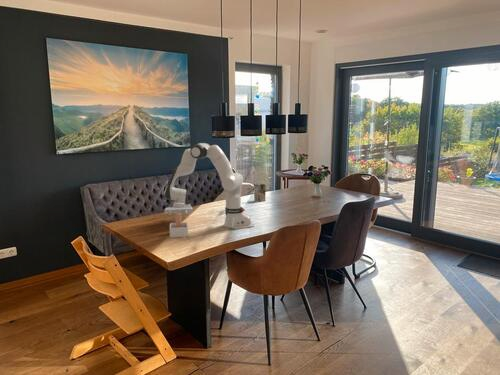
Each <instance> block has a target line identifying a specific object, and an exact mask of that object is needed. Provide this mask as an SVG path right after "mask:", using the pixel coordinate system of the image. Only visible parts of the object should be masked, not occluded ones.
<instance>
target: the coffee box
mask: <svg viewBox="0 0 500 375" xmlns="http://www.w3.org/2000/svg"><path fill="white" fill-rule="evenodd" d="M253 199H254V200H253V202H256V203H261V202H266V184H264V183H258V184H257V183H256V184H254V185H253Z"/></svg>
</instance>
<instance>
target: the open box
mask: <svg viewBox="0 0 500 375" xmlns="http://www.w3.org/2000/svg"><path fill="white" fill-rule="evenodd" d="M188 227H189V226H188V222H182V227H179V228H176V222H171V223H169V238H170V239H171V238H173V239H174V238H175V239H176V238H189V231H188V229H189V228H188Z"/></svg>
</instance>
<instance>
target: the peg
mask: <svg viewBox="0 0 500 375" xmlns="http://www.w3.org/2000/svg"><path fill="white" fill-rule="evenodd" d="M174 215H175V216H174V218H175V223H176V228H179V227H182V223H183V222H182V214H181V213H177V214H174Z"/></svg>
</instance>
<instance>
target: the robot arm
mask: <svg viewBox="0 0 500 375" xmlns="http://www.w3.org/2000/svg"><path fill="white" fill-rule="evenodd" d="M204 158H209V160H210V161H211V163H212V164H213V166H214V167H215V170H216V171H217V173H218V176H219V178H220V181H221V187H222V188H223V190H225V191H226V195H225V207H224V208H225V209H224V214H225V218H224V224H223V226H224V227H225V228H227V229H232V230H239V229H246V228H253V227H255V223H254V222H253V221H252V220H251V217H250V216H249V215H248V214H247V213H246V212H245V211H246V210H245V208H244V207H243V206H242V204H241V200H242V190H243V182H244V177H243V176H244V175H242V174H241V173H240V172H234V171H233V169H232V163H231V162H230V160H229V158H228V157H227V156H226V153H225V152H224V151H223V149H221V148H220V146H219V145H217V144H212V145H211V144H210V143H208V142H200V143H197V144H194V145H192V146H191V148H186V149H185V150H184V152H183V154H182V157H181V161H180V163H179V165H178V166H176V167H175V168H174V169H173V171H172V174H171V176H170V179H169V181H168V184H167V186H166V187H165V189H164V192H163V196H164V198H165V199H166V200H169V201H170V200H171V201H174V202H173V203H172V207H171V206H169V207H166V208H164V215H175V214H177V213H181V215H183V214H184V215H186V214H192V213H193V207H192V205H191V203H188V200H189V191H188V190H187V189H184V188H179V187H175V186H174V184H175V182H176V180H177V178H179V177H182V176H188V175H190V174H193V173H194V171H195V168H196V164H197V163H196V162H197V160H198V159H199V160H200V159H204Z"/></svg>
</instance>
